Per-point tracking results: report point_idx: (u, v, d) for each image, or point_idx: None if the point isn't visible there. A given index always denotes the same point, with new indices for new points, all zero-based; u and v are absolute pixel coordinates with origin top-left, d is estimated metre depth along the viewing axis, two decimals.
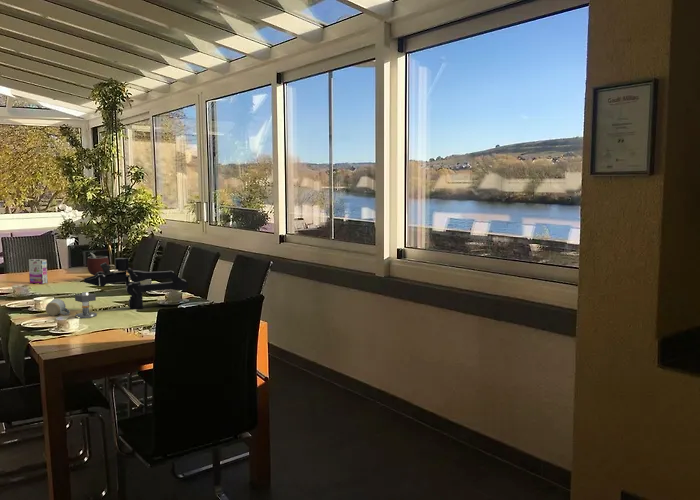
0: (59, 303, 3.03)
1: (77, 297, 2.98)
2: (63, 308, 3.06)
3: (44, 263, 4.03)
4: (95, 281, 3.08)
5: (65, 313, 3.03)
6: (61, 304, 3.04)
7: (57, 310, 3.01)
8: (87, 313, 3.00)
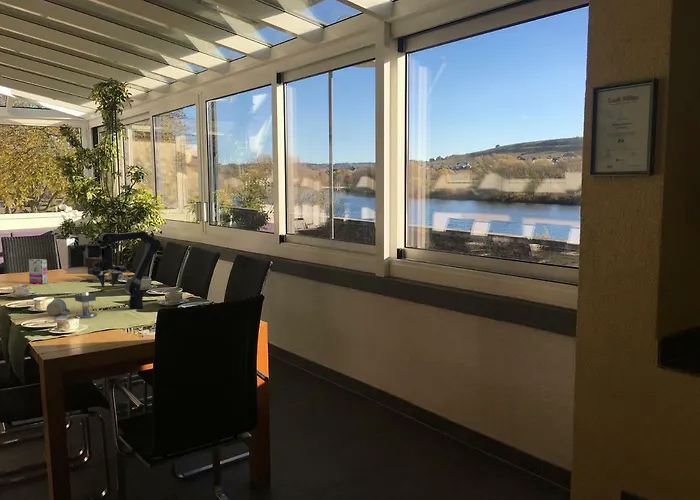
0: (60, 303, 3.03)
1: (77, 297, 2.98)
2: (64, 308, 3.06)
3: (44, 263, 4.03)
4: (101, 277, 3.09)
5: (66, 313, 3.03)
6: (62, 304, 3.04)
7: (58, 310, 3.01)
8: (87, 313, 3.00)
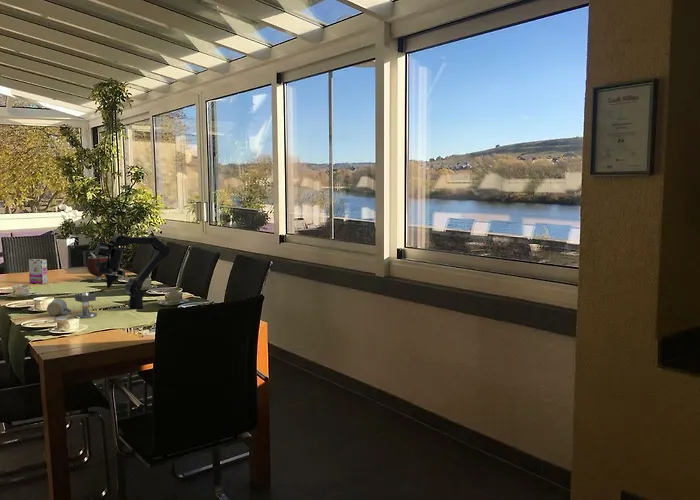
0: (60, 303, 3.03)
1: (77, 297, 2.98)
2: (64, 308, 3.06)
3: (44, 263, 4.03)
4: (110, 277, 3.11)
5: (66, 313, 3.03)
6: (62, 304, 3.04)
7: (58, 310, 3.01)
8: (87, 313, 3.00)
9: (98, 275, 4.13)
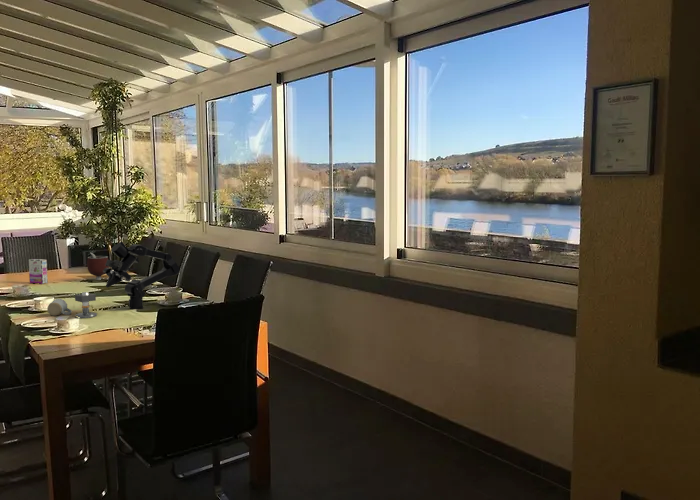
0: (61, 303, 3.03)
1: (77, 297, 2.98)
2: (65, 308, 3.06)
3: (44, 263, 4.03)
4: (115, 279, 3.11)
5: (67, 313, 3.03)
6: (63, 304, 3.04)
7: (59, 310, 3.01)
8: (87, 313, 3.00)
9: (98, 275, 4.13)
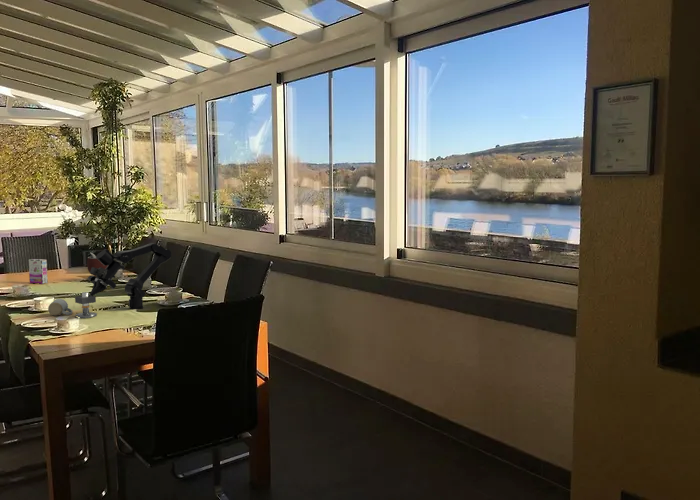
0: (62, 303, 3.03)
1: (77, 299, 2.98)
2: (65, 308, 3.06)
3: (44, 263, 4.03)
4: (99, 287, 3.04)
5: (67, 313, 3.03)
6: (64, 304, 3.04)
7: (60, 310, 3.01)
8: (87, 313, 3.00)
9: None
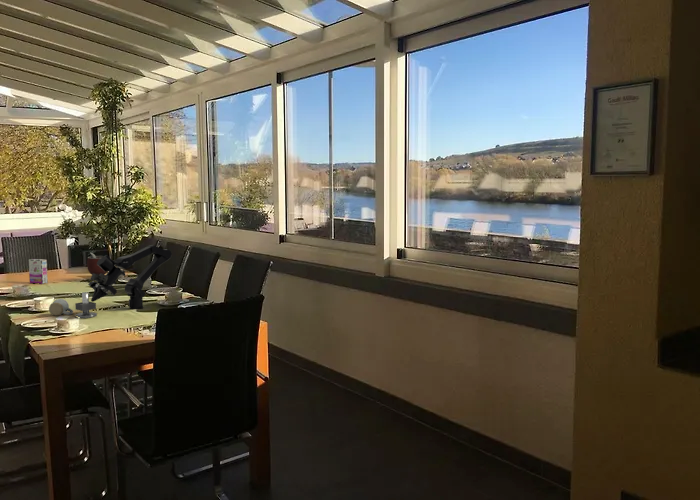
0: (62, 303, 3.03)
1: (77, 306, 2.99)
2: (66, 308, 3.06)
3: (44, 263, 4.03)
4: (100, 293, 3.05)
5: (68, 313, 3.03)
6: (64, 304, 3.04)
7: (60, 310, 3.01)
8: (87, 313, 3.00)
9: None
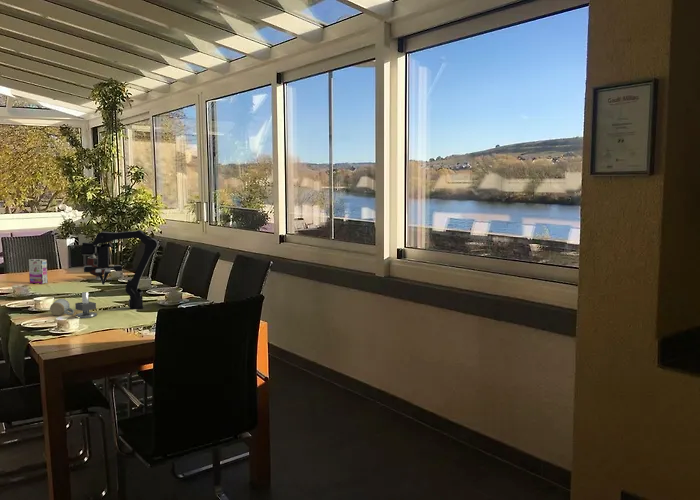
0: (63, 303, 3.03)
1: (77, 306, 2.99)
2: (67, 308, 3.06)
3: (44, 263, 4.03)
4: None
5: (69, 313, 3.03)
6: (65, 304, 3.04)
7: (61, 310, 3.01)
8: (87, 313, 3.00)
9: (98, 275, 4.13)
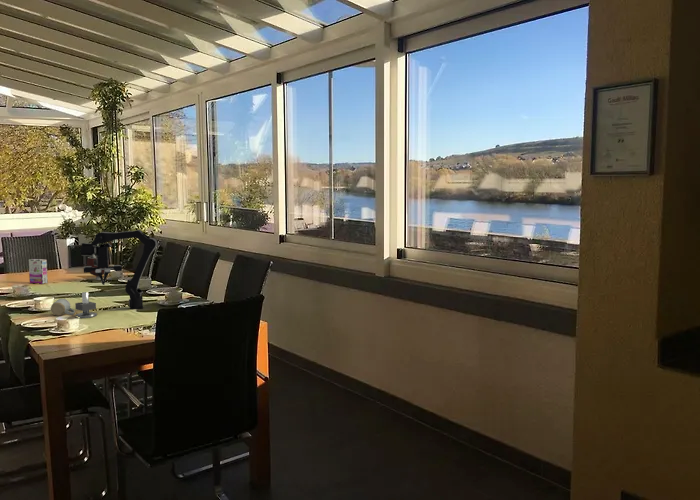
0: (64, 303, 3.03)
1: (77, 306, 2.99)
2: (68, 308, 3.06)
3: (44, 263, 4.03)
4: None
5: (70, 313, 3.03)
6: (66, 304, 3.04)
7: (62, 310, 3.01)
8: (87, 313, 3.00)
9: (98, 275, 4.13)
